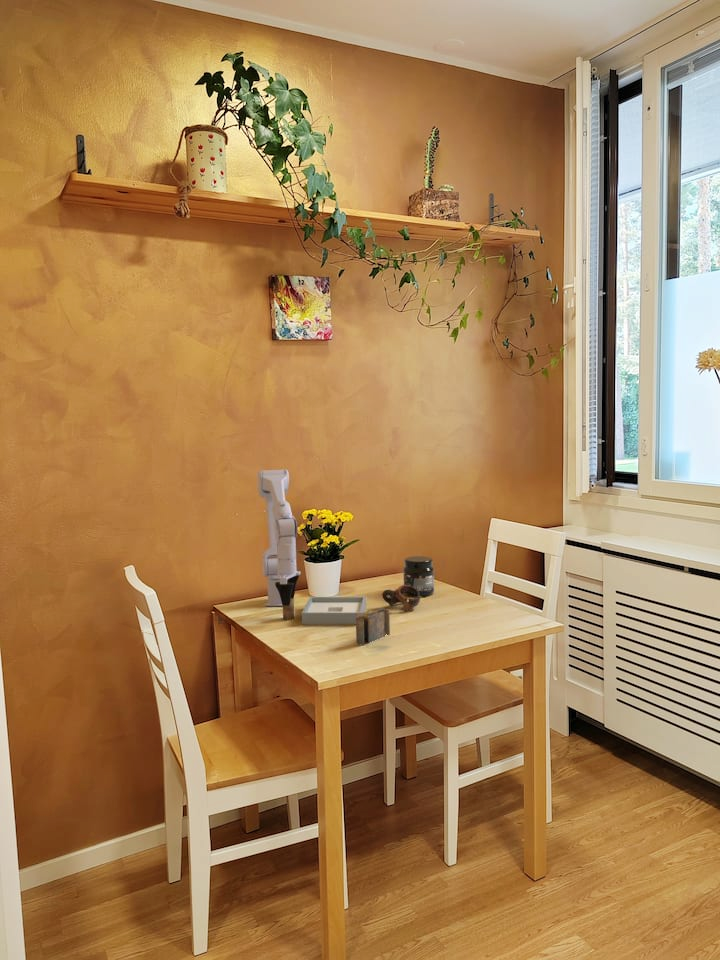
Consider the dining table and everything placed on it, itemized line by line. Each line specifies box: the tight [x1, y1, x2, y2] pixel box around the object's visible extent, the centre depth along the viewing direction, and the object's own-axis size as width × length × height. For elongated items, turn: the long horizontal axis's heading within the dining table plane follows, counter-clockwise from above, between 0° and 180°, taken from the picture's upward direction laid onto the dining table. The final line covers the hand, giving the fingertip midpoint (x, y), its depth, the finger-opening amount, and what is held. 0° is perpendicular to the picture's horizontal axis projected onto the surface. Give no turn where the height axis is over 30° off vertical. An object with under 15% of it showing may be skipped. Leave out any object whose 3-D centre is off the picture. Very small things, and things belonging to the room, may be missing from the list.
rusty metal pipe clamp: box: [381, 584, 421, 612], centre depth 233 cm, size 12×10×8 cm
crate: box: [301, 596, 367, 626], centre depth 226 cm, size 18×18×4 cm
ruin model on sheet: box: [355, 608, 391, 646], centre depth 203 cm, size 11×3×10 cm, turn 139°
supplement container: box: [402, 555, 435, 598], centre depth 250 cm, size 10×10×12 cm
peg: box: [282, 598, 295, 621], centre depth 224 cm, size 3×3×6 cm
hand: (288, 601), depth 224 cm, fingers open, 7 cm apart
